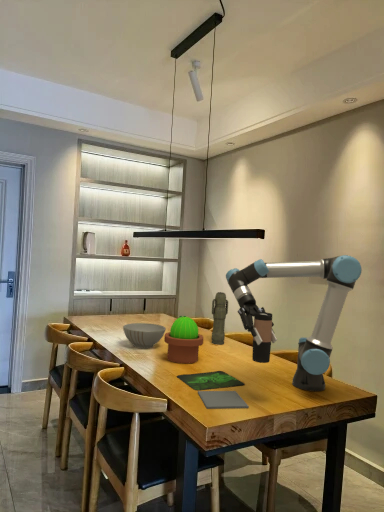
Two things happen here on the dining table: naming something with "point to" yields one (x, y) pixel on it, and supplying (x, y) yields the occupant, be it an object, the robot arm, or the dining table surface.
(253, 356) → the travel mug
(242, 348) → the dining table surface
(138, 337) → the decorative bowl
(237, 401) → the rubber mat
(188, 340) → the potted cactus
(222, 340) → the olive grey tall piece
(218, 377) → the mouse mat
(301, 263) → the robot arm
